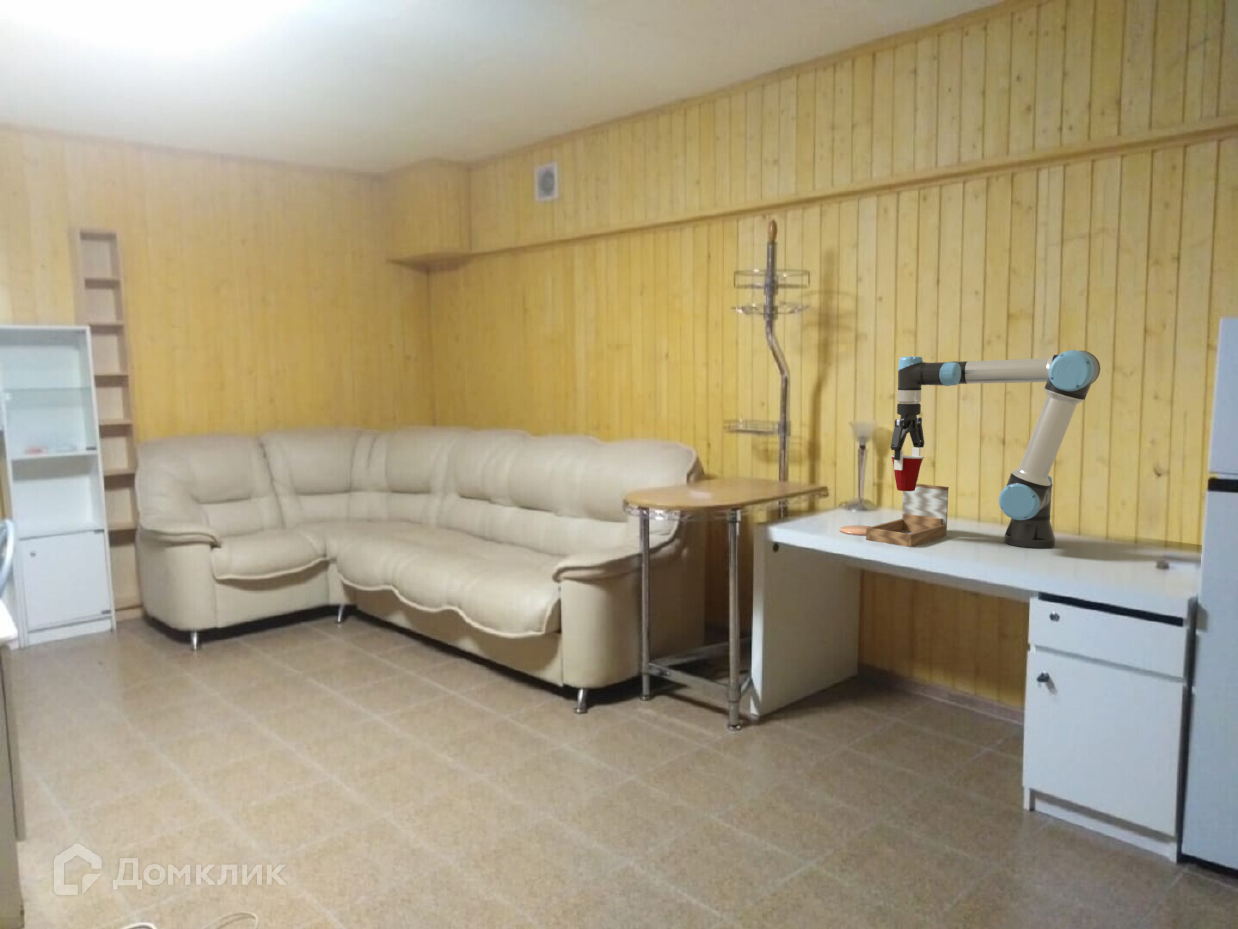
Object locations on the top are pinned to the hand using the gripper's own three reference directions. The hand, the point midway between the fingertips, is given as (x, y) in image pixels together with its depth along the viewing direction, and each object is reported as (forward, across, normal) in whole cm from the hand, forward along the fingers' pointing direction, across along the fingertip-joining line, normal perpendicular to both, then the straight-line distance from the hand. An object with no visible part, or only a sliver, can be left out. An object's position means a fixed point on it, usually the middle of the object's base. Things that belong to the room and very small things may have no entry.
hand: (907, 468), depth 298 cm
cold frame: (+24, 0, 0) cm, 24 cm away
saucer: (+24, +1, -17) cm, 29 cm away
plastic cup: (+8, 0, 0) cm, 8 cm away
